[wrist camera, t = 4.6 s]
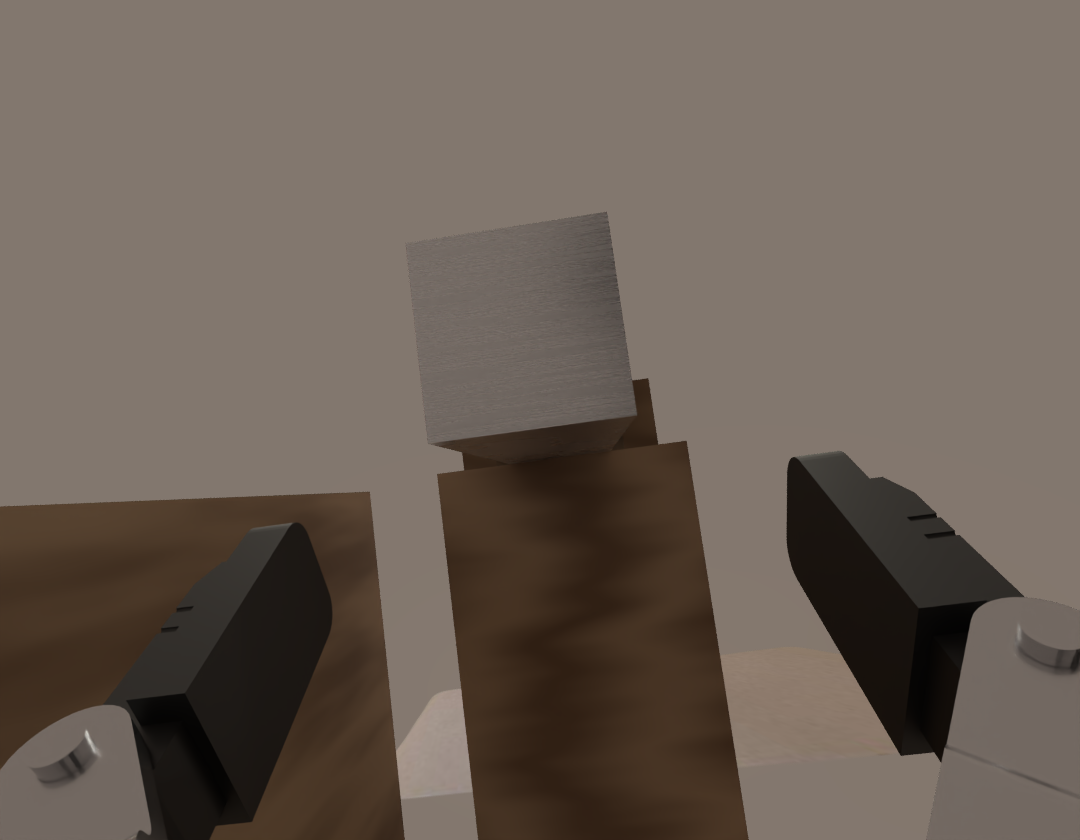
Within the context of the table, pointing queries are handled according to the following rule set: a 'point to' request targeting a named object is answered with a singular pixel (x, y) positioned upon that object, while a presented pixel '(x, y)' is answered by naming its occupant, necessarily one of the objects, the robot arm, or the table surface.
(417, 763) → the table surface
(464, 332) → the grey metal bar
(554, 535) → the stand
